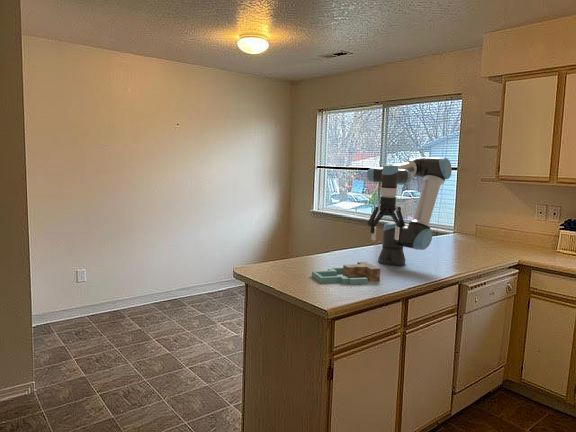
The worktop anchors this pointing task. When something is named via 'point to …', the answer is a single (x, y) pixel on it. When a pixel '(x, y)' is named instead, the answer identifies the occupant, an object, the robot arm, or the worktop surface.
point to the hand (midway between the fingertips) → (385, 239)
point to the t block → (362, 271)
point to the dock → (336, 277)
